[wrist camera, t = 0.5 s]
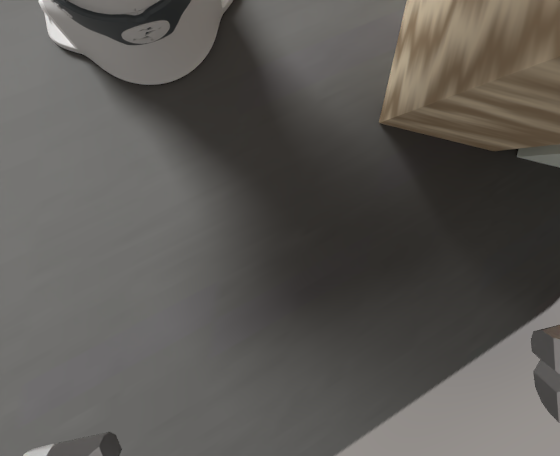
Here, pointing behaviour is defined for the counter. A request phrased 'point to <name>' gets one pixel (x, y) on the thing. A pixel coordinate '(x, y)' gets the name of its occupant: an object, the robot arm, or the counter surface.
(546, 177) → the counter surface
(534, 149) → the pale grey block
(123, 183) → the counter surface
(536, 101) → the oak pedestal
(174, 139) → the counter surface
